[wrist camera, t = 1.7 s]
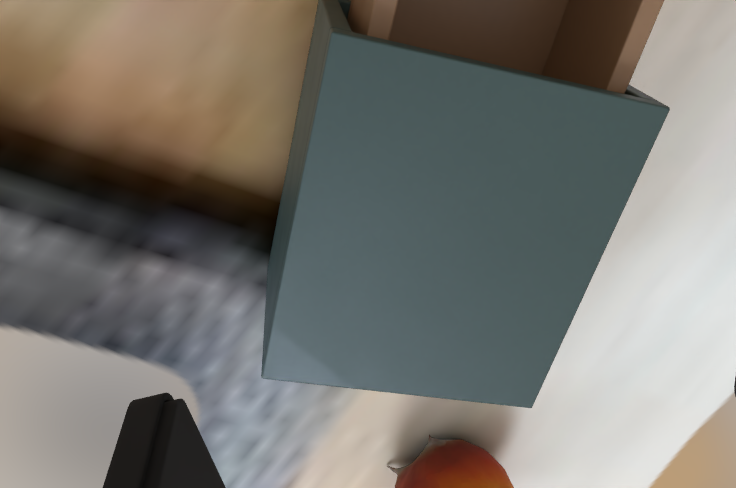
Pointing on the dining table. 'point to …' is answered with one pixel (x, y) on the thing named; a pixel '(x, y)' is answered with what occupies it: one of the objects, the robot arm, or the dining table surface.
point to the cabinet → (441, 217)
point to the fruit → (452, 467)
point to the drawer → (522, 33)
